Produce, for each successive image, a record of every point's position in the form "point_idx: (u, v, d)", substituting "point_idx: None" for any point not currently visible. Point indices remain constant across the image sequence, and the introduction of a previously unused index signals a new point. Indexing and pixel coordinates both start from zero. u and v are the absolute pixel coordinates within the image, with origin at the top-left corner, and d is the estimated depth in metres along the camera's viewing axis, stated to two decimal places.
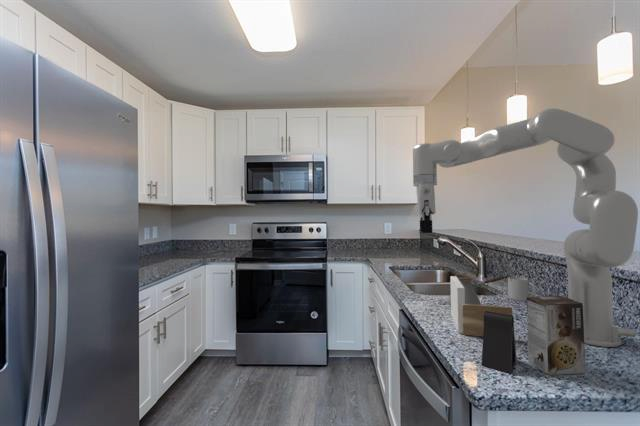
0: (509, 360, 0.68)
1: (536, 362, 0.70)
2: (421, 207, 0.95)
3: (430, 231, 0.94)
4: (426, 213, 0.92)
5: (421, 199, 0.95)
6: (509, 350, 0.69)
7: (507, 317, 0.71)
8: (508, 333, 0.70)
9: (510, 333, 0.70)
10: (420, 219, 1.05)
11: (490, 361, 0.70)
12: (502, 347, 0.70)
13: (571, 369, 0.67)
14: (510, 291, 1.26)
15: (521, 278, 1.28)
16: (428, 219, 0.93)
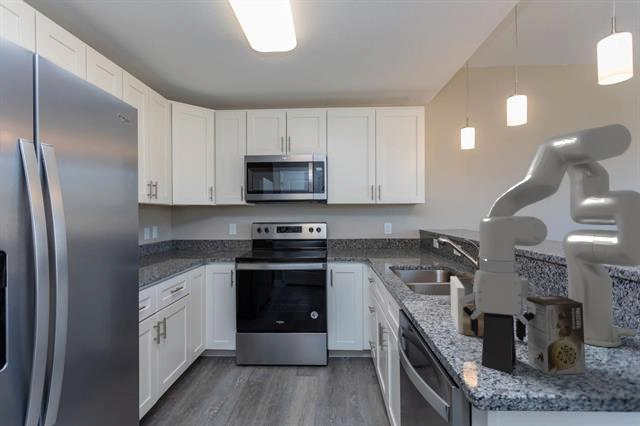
0: (509, 360, 0.68)
1: (536, 362, 0.70)
2: (522, 306, 0.70)
3: None
4: None
5: (521, 295, 0.70)
6: (509, 350, 0.69)
7: (507, 317, 0.71)
8: (508, 333, 0.70)
9: (510, 333, 0.70)
10: (474, 318, 0.73)
11: (490, 361, 0.70)
12: (502, 347, 0.70)
13: (571, 369, 0.67)
14: None
15: (521, 278, 1.28)
16: None
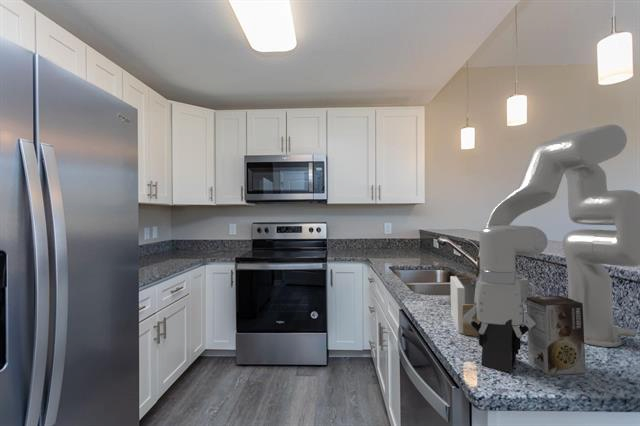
0: (509, 360, 0.68)
1: (536, 362, 0.70)
2: None
3: None
4: None
5: (522, 306, 0.70)
6: (509, 350, 0.69)
7: None
8: (508, 333, 0.70)
9: (510, 333, 0.70)
10: (483, 333, 0.73)
11: (490, 361, 0.70)
12: (502, 347, 0.70)
13: (571, 369, 0.67)
14: None
15: None
16: None
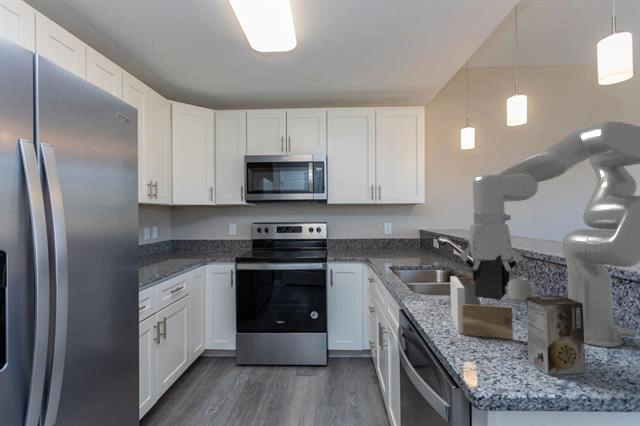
0: (499, 289, 0.78)
1: (536, 362, 0.70)
2: None
3: None
4: None
5: None
6: (499, 280, 0.78)
7: None
8: (498, 266, 0.79)
9: (500, 266, 0.79)
10: (476, 269, 0.82)
11: (482, 292, 0.80)
12: (493, 279, 0.79)
13: (571, 369, 0.67)
14: (510, 291, 1.26)
15: (521, 278, 1.28)
16: None
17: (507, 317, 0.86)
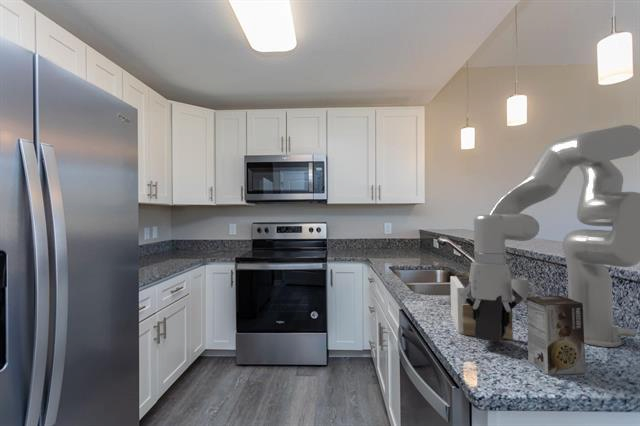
0: (499, 330, 0.78)
1: (536, 362, 0.70)
2: None
3: None
4: None
5: (511, 283, 0.79)
6: (499, 322, 0.78)
7: None
8: (498, 307, 0.79)
9: (500, 307, 0.79)
10: (476, 308, 0.82)
11: (482, 332, 0.80)
12: (493, 319, 0.79)
13: (571, 369, 0.67)
14: None
15: (521, 278, 1.28)
16: None
17: None
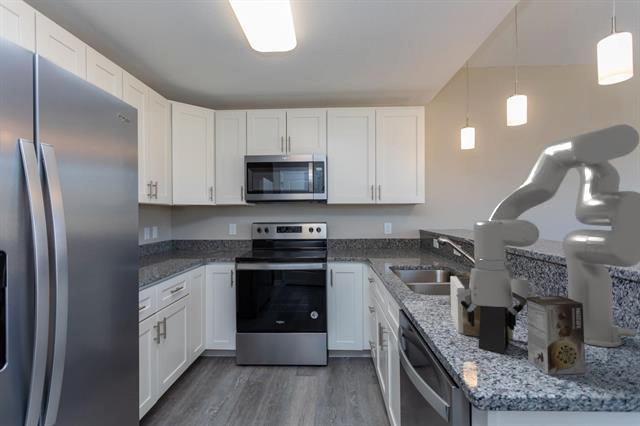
0: (502, 343, 0.77)
1: (536, 362, 0.70)
2: None
3: None
4: None
5: (511, 290, 0.79)
6: (502, 334, 0.78)
7: None
8: (502, 319, 0.79)
9: (503, 319, 0.79)
10: (471, 311, 0.82)
11: (486, 344, 0.80)
12: (496, 331, 0.79)
13: (571, 369, 0.67)
14: None
15: (521, 278, 1.28)
16: None
17: None
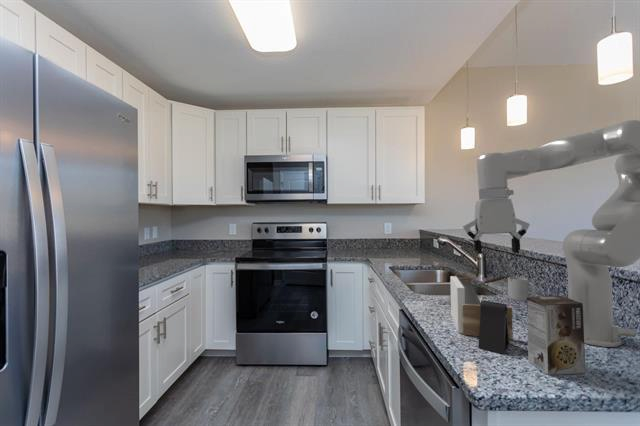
0: (502, 343, 0.77)
1: (536, 362, 0.70)
2: None
3: None
4: None
5: None
6: (502, 334, 0.78)
7: (501, 305, 0.80)
8: (502, 319, 0.79)
9: (503, 319, 0.79)
10: (477, 239, 0.87)
11: (486, 344, 0.80)
12: (496, 331, 0.79)
13: (571, 369, 0.67)
14: (510, 291, 1.26)
15: (521, 278, 1.28)
16: None
17: (507, 317, 0.86)
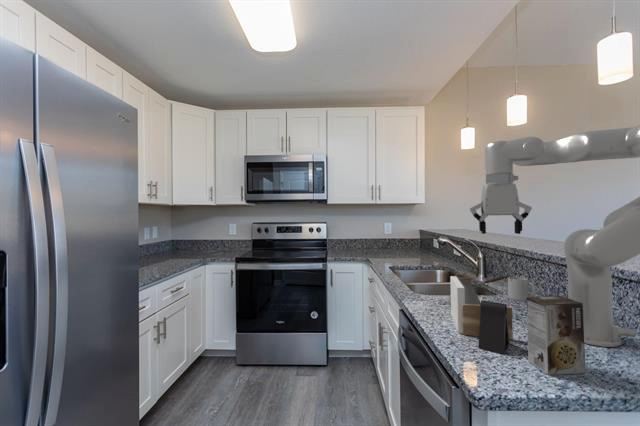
0: (502, 343, 0.77)
1: (536, 362, 0.70)
2: None
3: None
4: None
5: (518, 199, 0.92)
6: (502, 334, 0.78)
7: (501, 305, 0.80)
8: (502, 319, 0.79)
9: (503, 319, 0.79)
10: (482, 220, 0.95)
11: (486, 344, 0.80)
12: (496, 331, 0.79)
13: (571, 369, 0.67)
14: (510, 291, 1.26)
15: (521, 278, 1.28)
16: None
17: (507, 317, 0.86)
